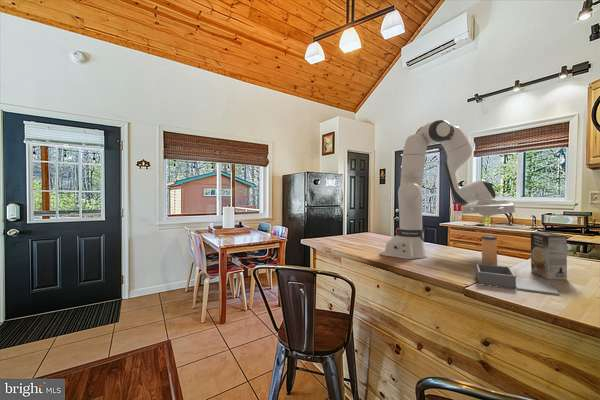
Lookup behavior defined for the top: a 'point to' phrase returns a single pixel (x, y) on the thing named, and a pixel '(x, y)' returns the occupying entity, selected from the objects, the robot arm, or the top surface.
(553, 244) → the coffee box
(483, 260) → the lidded coffee cup
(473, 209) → the robot arm
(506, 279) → the mailer box
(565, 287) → the top surface
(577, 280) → the top surface
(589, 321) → the top surface
